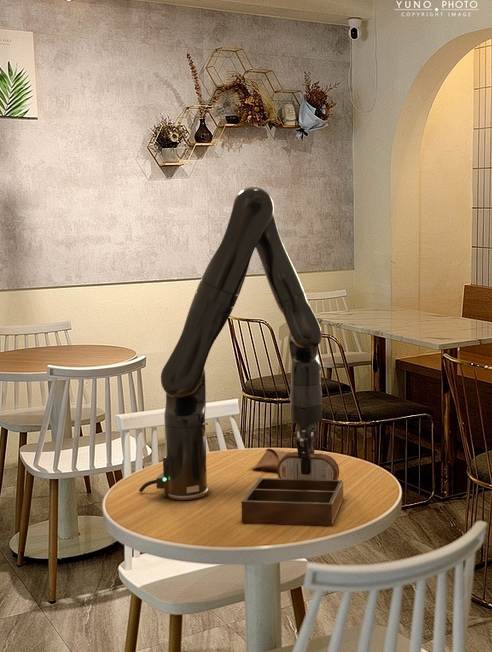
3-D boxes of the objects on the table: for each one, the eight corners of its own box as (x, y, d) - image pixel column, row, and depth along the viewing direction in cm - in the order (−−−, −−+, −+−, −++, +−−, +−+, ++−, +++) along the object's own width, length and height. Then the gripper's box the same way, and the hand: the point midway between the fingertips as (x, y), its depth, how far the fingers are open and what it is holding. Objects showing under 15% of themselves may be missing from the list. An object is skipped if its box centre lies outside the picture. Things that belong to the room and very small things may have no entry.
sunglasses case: (250, 468, 224) (256, 443, 227) (262, 475, 230) (268, 451, 233) (312, 476, 217) (318, 450, 220) (323, 483, 224) (329, 458, 226)
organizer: (241, 523, 188) (241, 501, 187) (260, 497, 204) (259, 477, 203) (332, 525, 186) (331, 504, 185) (343, 500, 202) (343, 480, 201)
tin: (339, 488, 210) (339, 453, 210) (336, 491, 207) (336, 457, 207) (280, 484, 213) (279, 450, 213) (275, 487, 210) (275, 453, 210)
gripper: (296, 394, 215) (298, 462, 217) (284, 408, 201) (286, 480, 203) (326, 395, 214) (327, 463, 216) (316, 408, 200) (317, 481, 203)
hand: (307, 471), depth 210 cm, fingers closed on tin, 3 cm apart
